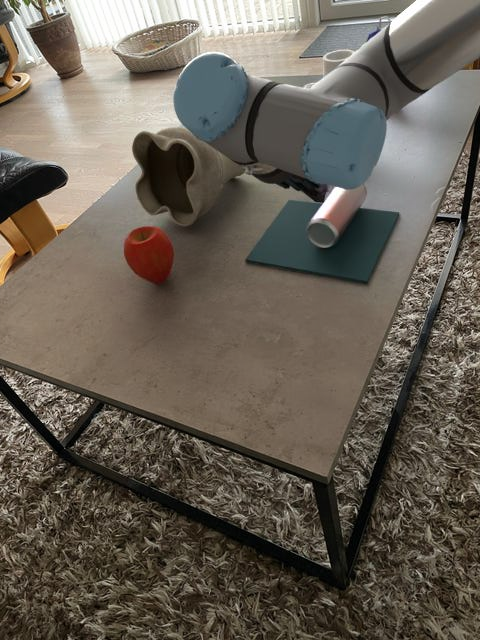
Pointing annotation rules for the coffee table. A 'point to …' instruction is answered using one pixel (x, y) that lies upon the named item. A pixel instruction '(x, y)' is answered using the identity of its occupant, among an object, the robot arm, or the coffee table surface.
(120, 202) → the coffee table surface
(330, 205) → the beverage can
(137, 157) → the vase
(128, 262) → the apple
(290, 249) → the mat
